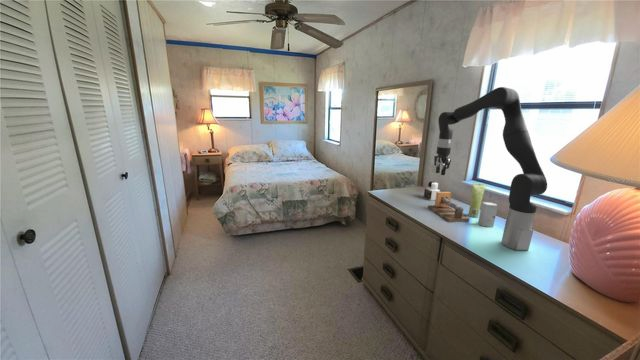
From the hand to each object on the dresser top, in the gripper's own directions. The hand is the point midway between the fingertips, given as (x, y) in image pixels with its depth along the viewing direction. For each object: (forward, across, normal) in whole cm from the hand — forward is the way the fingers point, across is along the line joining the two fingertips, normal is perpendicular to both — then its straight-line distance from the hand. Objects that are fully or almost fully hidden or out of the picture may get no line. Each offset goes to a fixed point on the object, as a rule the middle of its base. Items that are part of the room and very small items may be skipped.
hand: (440, 173), depth 159 cm
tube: (+22, -16, -14) cm, 31 cm away
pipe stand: (+21, -12, 0) cm, 25 cm away
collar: (+18, -6, 0) cm, 20 cm away
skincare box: (+22, -28, -12) cm, 38 cm away
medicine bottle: (+22, +16, -6) cm, 27 cm away
